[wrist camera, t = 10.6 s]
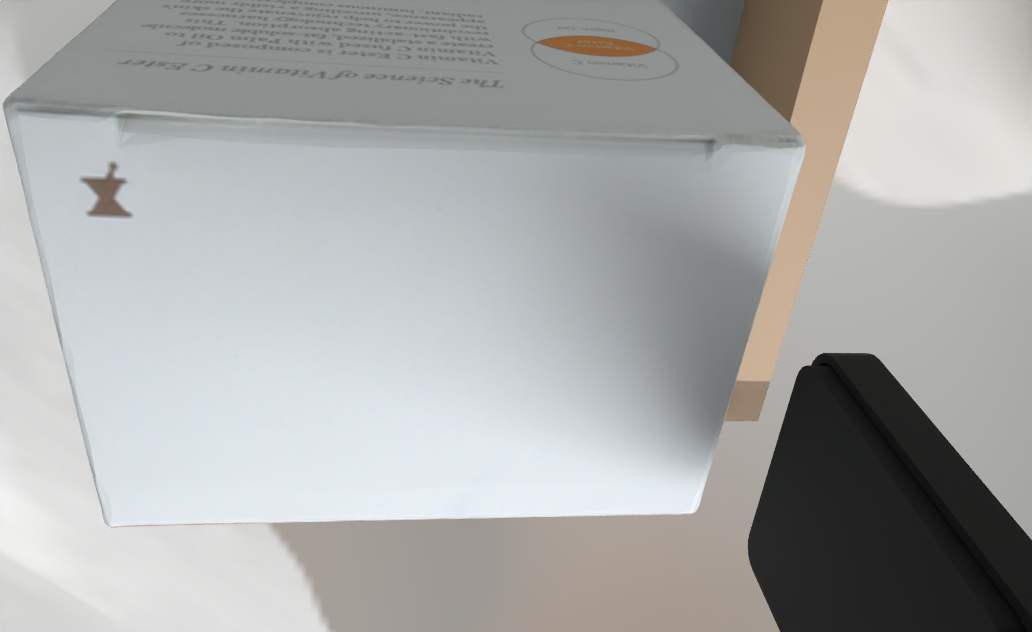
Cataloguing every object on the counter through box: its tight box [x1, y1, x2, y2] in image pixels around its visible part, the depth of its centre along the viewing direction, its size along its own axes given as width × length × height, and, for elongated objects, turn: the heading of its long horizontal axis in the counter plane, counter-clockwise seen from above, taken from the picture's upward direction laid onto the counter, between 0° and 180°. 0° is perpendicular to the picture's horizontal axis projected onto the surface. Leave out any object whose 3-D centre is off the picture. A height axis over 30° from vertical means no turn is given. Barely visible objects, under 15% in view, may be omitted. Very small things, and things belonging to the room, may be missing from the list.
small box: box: [3, 0, 806, 528], centre depth 14 cm, size 8×6×10 cm
